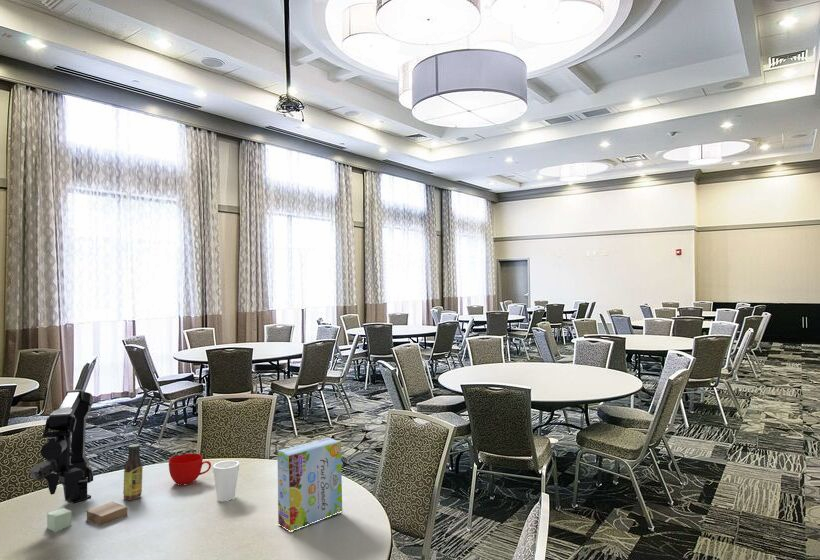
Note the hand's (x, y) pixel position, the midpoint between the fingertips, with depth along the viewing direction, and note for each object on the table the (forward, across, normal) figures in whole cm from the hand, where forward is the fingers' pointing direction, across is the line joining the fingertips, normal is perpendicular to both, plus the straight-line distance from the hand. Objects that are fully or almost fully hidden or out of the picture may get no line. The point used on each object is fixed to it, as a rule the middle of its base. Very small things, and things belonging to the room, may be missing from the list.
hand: (59, 496), depth 173 cm
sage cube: (+10, 0, 0) cm, 10 cm away
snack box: (+10, +70, +46) cm, 84 cm away
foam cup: (+10, +30, +44) cm, 54 cm away
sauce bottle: (+10, -2, +27) cm, 29 cm away
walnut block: (+10, +7, +12) cm, 17 cm away
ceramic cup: (+10, +4, +48) cm, 49 cm away
